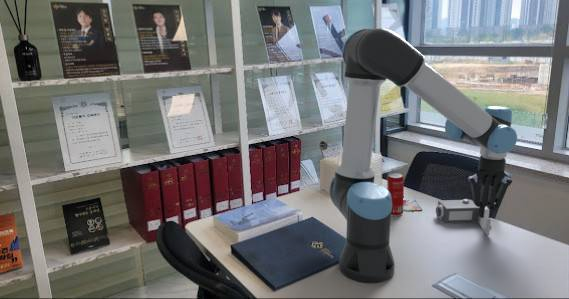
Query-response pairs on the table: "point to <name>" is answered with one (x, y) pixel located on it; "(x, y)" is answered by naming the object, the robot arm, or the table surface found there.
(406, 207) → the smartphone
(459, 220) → the grey video camera
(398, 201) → the beverage can
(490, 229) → the side door
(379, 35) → the robot arm
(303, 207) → the table surface
